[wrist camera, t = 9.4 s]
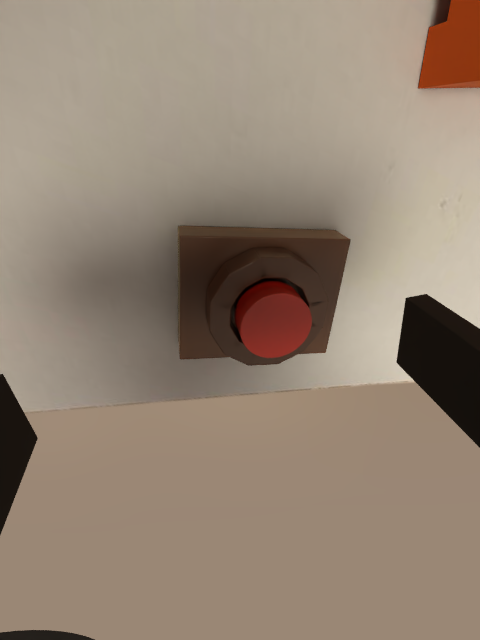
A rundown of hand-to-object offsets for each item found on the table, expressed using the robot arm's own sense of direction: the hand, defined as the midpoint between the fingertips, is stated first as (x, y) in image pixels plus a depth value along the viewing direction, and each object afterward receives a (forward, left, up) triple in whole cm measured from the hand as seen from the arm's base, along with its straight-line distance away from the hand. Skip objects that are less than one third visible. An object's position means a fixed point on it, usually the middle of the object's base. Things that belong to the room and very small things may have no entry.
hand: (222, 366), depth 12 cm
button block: (-1, -4, -12) cm, 13 cm away
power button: (-1, -4, -8) cm, 9 cm away
